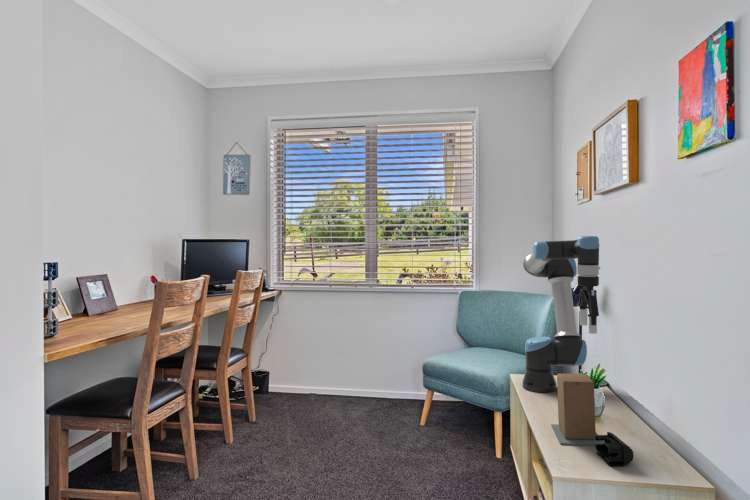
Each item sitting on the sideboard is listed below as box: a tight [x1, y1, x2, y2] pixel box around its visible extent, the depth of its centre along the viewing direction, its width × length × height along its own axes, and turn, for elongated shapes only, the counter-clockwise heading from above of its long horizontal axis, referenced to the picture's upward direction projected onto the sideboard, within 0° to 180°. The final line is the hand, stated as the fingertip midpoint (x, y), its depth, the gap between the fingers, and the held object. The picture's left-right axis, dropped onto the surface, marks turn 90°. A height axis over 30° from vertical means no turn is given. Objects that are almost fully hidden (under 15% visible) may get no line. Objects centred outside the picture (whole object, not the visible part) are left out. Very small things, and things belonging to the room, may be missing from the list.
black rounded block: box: [595, 431, 635, 468], centre depth 140 cm, size 10×7×7 cm
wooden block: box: [556, 372, 597, 440], centre depth 159 cm, size 10×10×20 cm
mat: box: [550, 423, 605, 447], centre depth 159 cm, size 16×14×1 cm
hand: (587, 329), depth 177 cm, fingers open, 13 cm apart
